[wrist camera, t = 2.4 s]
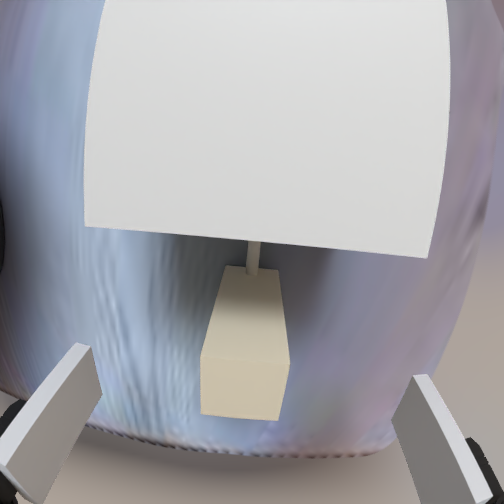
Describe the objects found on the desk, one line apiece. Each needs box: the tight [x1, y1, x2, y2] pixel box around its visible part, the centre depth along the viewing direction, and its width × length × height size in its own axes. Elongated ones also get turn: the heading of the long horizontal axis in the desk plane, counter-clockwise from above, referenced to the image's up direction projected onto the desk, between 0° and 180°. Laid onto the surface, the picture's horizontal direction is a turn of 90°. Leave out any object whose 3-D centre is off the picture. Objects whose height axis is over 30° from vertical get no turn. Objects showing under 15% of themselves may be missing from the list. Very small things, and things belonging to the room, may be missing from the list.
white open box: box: [84, 0, 450, 258], centre depth 11 cm, size 10×15×10 cm
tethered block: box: [200, 240, 290, 421], centre depth 13 cm, size 6×20×9 cm, turn 175°
